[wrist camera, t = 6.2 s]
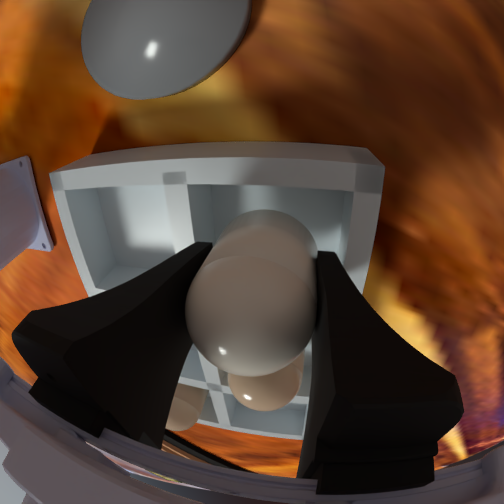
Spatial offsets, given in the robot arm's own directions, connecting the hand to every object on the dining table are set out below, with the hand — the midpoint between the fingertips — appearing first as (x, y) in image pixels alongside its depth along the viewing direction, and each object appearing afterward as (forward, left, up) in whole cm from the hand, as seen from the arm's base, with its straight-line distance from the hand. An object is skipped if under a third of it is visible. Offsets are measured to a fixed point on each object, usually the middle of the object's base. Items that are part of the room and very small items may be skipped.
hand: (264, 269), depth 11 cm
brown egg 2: (0, -7, -3) cm, 8 cm away
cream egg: (0, 0, -1) cm, 1 cm away
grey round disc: (-5, +11, -4) cm, 13 cm away
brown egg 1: (-7, -14, -3) cm, 16 cm away
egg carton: (-3, -7, -4) cm, 9 cm away
